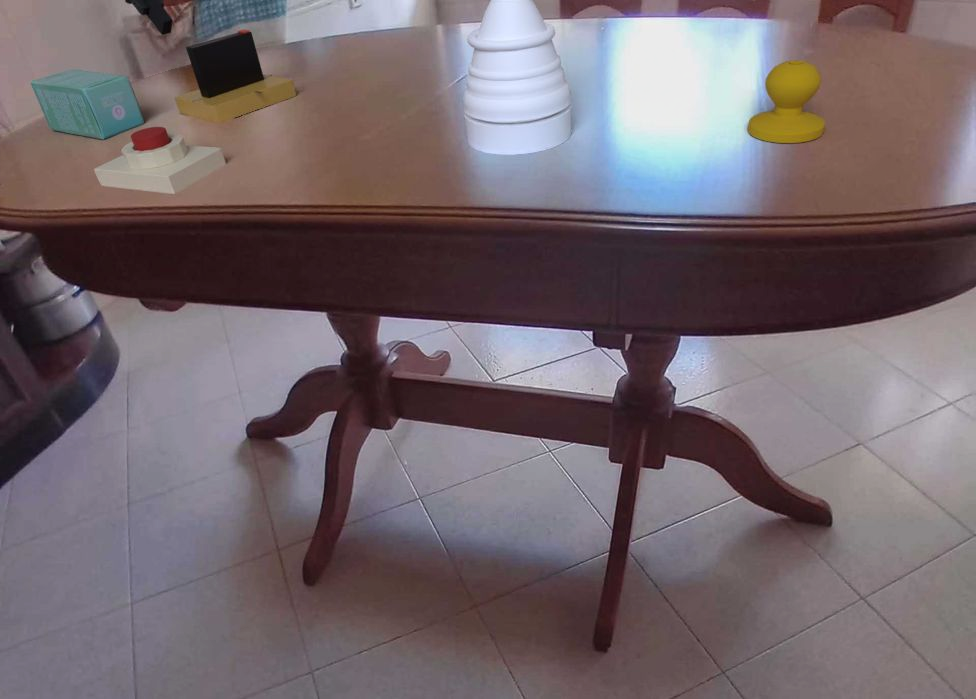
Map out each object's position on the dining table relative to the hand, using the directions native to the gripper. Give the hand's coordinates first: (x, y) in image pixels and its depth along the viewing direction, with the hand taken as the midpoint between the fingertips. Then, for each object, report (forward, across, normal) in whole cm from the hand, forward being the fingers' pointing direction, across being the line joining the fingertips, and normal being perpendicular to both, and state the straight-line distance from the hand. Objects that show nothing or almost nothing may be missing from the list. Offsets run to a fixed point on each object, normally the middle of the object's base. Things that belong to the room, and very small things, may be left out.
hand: (167, 27), depth 106 cm
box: (+6, +14, -10) cm, 19 cm away
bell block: (+26, +20, +11) cm, 35 cm away
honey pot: (+49, -10, +33) cm, 60 cm away
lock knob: (+13, -2, +1) cm, 13 cm away
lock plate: (+15, -2, -1) cm, 15 cm away
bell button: (+24, +20, +13) cm, 34 cm away
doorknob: (+69, -24, +52) cm, 90 cm away
